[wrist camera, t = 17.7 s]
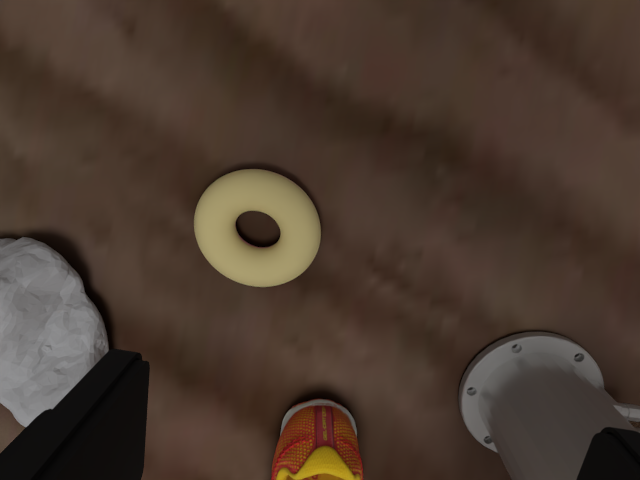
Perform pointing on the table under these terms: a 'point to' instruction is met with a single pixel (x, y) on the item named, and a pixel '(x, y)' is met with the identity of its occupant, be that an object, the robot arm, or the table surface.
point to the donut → (268, 197)
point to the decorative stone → (43, 328)
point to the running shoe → (317, 444)
